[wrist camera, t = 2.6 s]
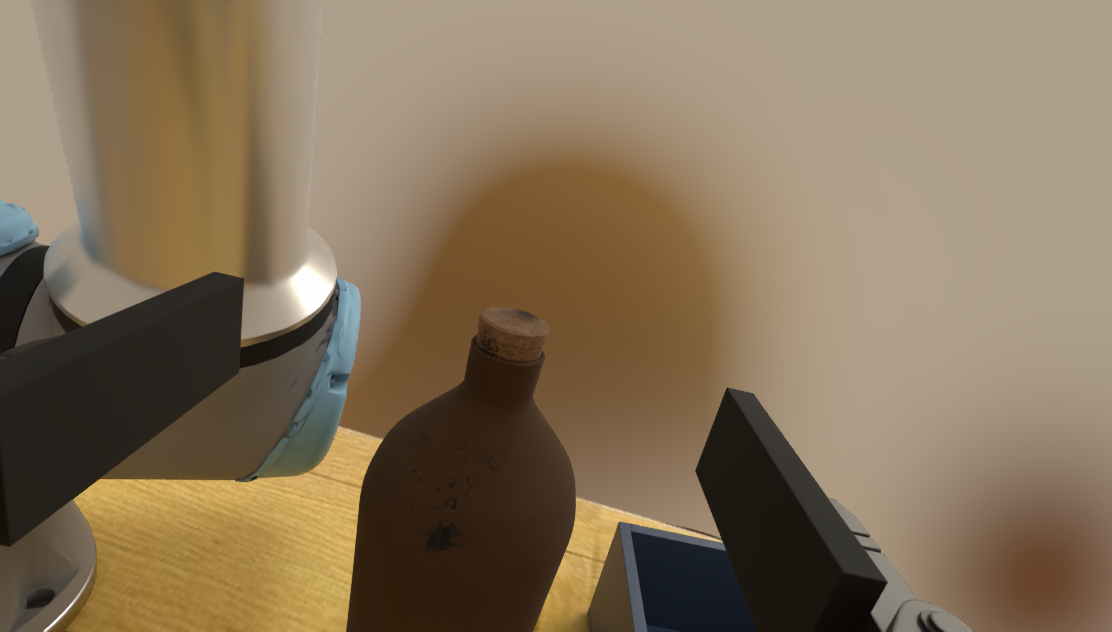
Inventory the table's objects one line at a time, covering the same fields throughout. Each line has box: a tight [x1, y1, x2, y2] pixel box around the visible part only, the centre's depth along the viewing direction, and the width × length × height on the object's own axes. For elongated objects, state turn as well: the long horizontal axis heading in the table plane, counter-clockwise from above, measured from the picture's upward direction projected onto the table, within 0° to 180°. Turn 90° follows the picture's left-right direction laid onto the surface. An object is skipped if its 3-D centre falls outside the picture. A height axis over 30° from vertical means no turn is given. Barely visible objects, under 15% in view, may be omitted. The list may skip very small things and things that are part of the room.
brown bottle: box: [346, 307, 576, 632], centre depth 29 cm, size 11×11×25 cm
